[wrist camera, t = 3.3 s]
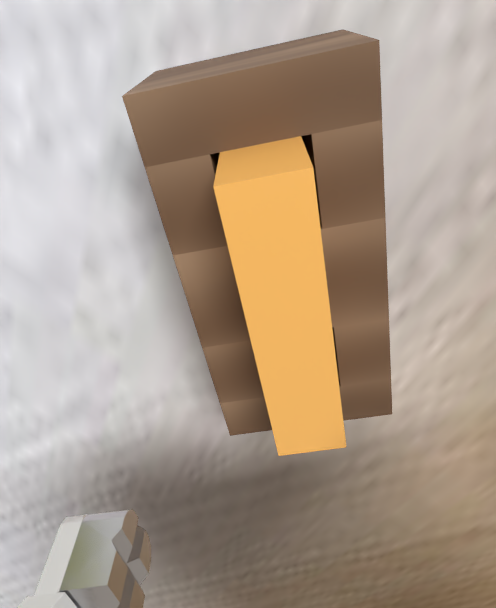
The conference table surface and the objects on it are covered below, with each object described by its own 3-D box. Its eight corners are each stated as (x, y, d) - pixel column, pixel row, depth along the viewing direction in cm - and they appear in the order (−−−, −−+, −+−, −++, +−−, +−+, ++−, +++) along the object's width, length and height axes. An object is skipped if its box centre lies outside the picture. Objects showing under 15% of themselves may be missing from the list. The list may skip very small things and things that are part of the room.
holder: (155, 71, 17) (122, 96, 13) (342, 29, 17) (379, 39, 12) (233, 355, 25) (230, 435, 20) (364, 335, 24) (392, 414, 19)
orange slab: (226, 117, 18) (212, 186, 11) (288, 104, 17) (313, 167, 11) (269, 324, 23) (278, 455, 16) (317, 316, 23) (346, 447, 16)
